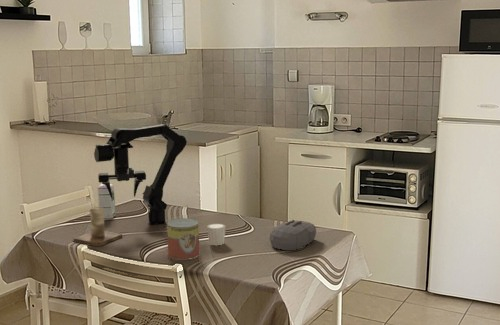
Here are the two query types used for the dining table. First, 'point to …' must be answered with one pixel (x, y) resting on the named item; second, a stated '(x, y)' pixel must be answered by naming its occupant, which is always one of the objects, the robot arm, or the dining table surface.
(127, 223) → the dining table surface
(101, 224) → the birch peg
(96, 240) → the walnut board
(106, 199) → the white plastic bottle
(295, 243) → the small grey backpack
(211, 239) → the white short cylinder
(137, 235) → the dining table surface
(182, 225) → the canned food
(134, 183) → the robot arm
